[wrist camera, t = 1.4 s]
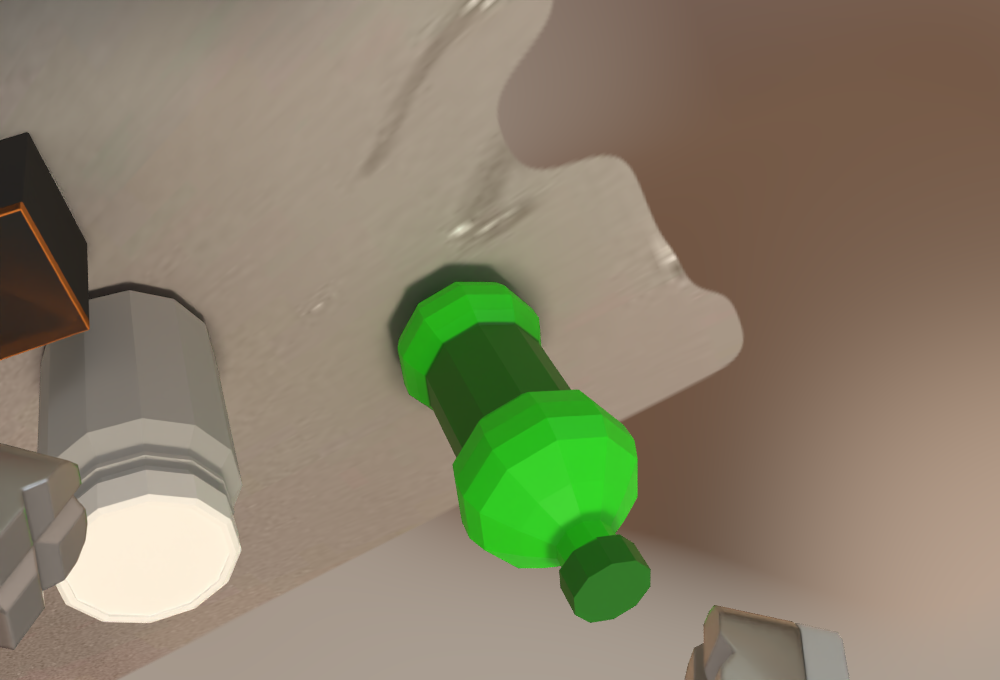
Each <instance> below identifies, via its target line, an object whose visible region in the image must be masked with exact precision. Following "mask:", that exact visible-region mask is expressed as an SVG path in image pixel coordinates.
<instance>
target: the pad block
mask: <svg viewBox="0 0 1000 680" xmlns="http://www.w3.org/2000/svg"><path fill="white" fill-rule="evenodd" d="M89 329H90V323H89V293H88V263H87V243H86V241H85V239H84V237H83V235H82V233H81V232H80V230H79V228H78V226H77V224H76V222H75V220H74V218H73V216H72V215H71V213H70V211H69V209H68V207H67V205H66V203H65V201H64V199H63V198H62V196H61V194H60V192H59V190H58V188H57V186H56V184H55V183H54V181H53V179H52V177H51V175H50V173H49V171H48V169H47V167H46V166H45V164H44V162H43V160H42V158H41V156H40V154H39V152H38V150H37V149H36V147H35V145H34V143H33V141H32V139H31V137H30V135H29V134H28V133H25V134H21V135H18V136H15V137H11V138H8V139H5V140H2V141H0V360H2V359H5V358H8V357H11V356H14V355H17V354H20V353H23V352H26V351H29V350H32V349H35V348H38V347H40V346H43V345H46V344H49V343H52V342H55V341H58V340H61V339H64V338H67V337H70V336H73V335H76V334H78V333H81V332H84V331H87V330H89Z"/></svg>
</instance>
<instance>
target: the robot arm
mask: <svg viewBox="0 0 1000 680" xmlns="http://www.w3.org/2000/svg"><path fill="white" fill-rule="evenodd" d="M81 484H82V482H81V477H80V472H79V467H78V464H76V463H73V462H71V461H69V460H65V459H61V458H57V457H53V456H49V455H45V454H41V453H37V452H33V451H29V450H25V449H21V448H17V447H13V446H9V445H5V444H1V443H0V647H2V648H7V649H12V650H14V649H15V648H16V646H17V645H18V644H19V642H20V641H21V640H22V638H23V637H24V635H25V634H26V633H27V631H28V630H29V629H30V627H31V626H32V624H33V623H34V622H35V620H36V619H37V618H38V616H39V615H40V614H41V612H42V611H43V609H44V608H45V605H44V596H43V591H44V590H46V589H48V588H50V587H52V586H54V585H56V584H58V583H60V582H62V581H64V580H65V579H66V577H67V576H68V575H69V573H70V572H71V570H72V569H73V567H74V566H75V564H76V563H77V561H78V558H79V556H80V553H81V551H82V548H83V546H84V543H85V541H86V533H87V524H88V522H87V515H86V509H85V508H84V507H83V505H82V504H81V503H80V502H79V501H78V500H77V498H76V497H75V496H74V495H73V494H74V493H75V492H76V491H77V489H78V488H79V487H80V485H81ZM685 680H850V679H849V673H848V668H847V662H846V657H845V651H844V645H843V640H842V638H841V637H840V635H839V633H838V632H835V631H830V630H826V629H822V628H817V627H813V626H808V625H804V624H799V623H795V624H794V623H793V622H792V621H787V620H782V619H777V618H773V617H767V616H763V615H759V614H753V613H749V612H745V611H739V610H735V609H731V608H726V607H721V606H717V605H714V606H713V607H712V609H711V610H710V611H709V613H708V615H707V618H706V620H705V623H704V643H703V644H701V645H699V646H697V647H695V648H694V650H693V652H692V655H691V658H690V661H689V663H688V667H687V671H686V676H685Z"/></svg>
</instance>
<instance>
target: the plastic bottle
mask: <svg viewBox="0 0 1000 680" xmlns="http://www.w3.org/2000/svg"><path fill="white" fill-rule="evenodd" d="M398 353H399V359H400V364H401V369H402V374H403V379H404V384H405V386H406V389H407V391H408V393H409V395H411V396H412V397H414V398H415V399H417V400H418V401H420V402H421V403H423V404H424V405H426V406H427V407H429V408H431V409H432V410H433V411H434V413H435V415H436V417H437V419H438V421H439V423H440V425H441V427H442V429H443V431H444V433H445V435H446V437H447V439H448V441H449V443H450V445H451V447H452V449H453V452H454V454H455V456H456V460H455V461H454V463H453V470H454V477H455V483H456V489H457V495H458V501H459V507H460V513H461V518H462V523H463V525H464V527H465V529H466V531H467V533H468V536H469V538H470V539H471V540H473V541H474V542H475V543H476V544H478V545H479V546H480V547H481V548H483V549H484V550H485V551H487V552H489V553H491V554H493V555H495V556H497V557H498V558H501V559H502V560H504V561H506V562H508V563H510V564H511V565H513V566H515V567H517V568H548V567H557V566H561V569H560V570H559V574H560V586H561V589H562V591H563V593H564V595H565V597H566V599H567V601H568V602H569V604H570V606H571V608H572V610H573V612H574V614H575V615H576V616H578V617H580V618H582V619H584V620H586V621H588V622H590V623H592V622H598V621H604V620H610V619H614V618H616V617H618V616H619V615H621V614H623V613H624V612H626V611H628V610H629V609H631V608H633V607H634V606H636V605H637V603H638V602H639V601H640V599H641V598H642V597H643V596H644V594H645V593H646V592H647V590H648V589H649V587H650V568H649V566H648V565H647V563H646V562H645V560H644V559H643V557H642V556H641V554H640V552H639V551H638V549H637V548H636V546H635V545H634V543H632V542H631V541H629V540H628V539H626V538H624V537H623V536H621V535H615V533H616V532H617V530H618V529H619V527H620V526H621V524H622V523H623V522H624V520H625V518H626V517H627V515H628V513H629V511H630V509H631V507H632V506H633V504H634V502H635V500H636V498H637V462H638V459H637V453H636V447H635V442H634V439H633V437H632V436H631V435H630V433H629V432H628V431H627V429H626V428H625V426H624V425H623V424H621V423H620V422H619V421H618V420H617V419H615V418H614V417H613V416H612V415H610V414H609V413H608V412H606V411H605V410H604V409H603V408H601V407H600V406H599V405H598V404H596V403H595V402H594V401H592V400H591V399H590V398H589V397H587V396H586V395H585V394H584V393H582V392H581V391H580V390H571V389H570V388H569V386H568V385H567V383H566V382H565V380H564V379H563V377H562V376H561V375H560V373H559V372H558V370H557V369H556V367H555V366H554V364H553V363H552V362H551V360H550V359H549V357H548V356H547V354H546V353H545V351H544V350H543V349H542V347H541V337H540V325H539V317H538V316H537V315H536V313H535V312H534V310H533V309H532V308H531V307H530V306H528V305H527V304H526V303H525V302H524V301H522V300H521V299H520V298H519V297H518V296H516V295H515V294H514V293H513V292H512V291H510V290H509V289H508V288H507V287H506V286H504V285H502V284H499V283H496V282H454V283H452V284H451V285H449V286H447V287H446V288H444V289H442V290H441V291H439V292H437V293H435V294H434V295H432V296H430V297H429V298H427V299H425V300H424V301H422V302H420V303H418V305H417V307H416V309H415V310H414V312H413V314H412V316H411V318H410V320H409V321H408V323H407V325H406V327H405V329H404V330H403V332H402V334H401V336H400V338H399V342H398Z"/></svg>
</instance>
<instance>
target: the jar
mask: <svg viewBox="0 0 1000 680" xmlns="http://www.w3.org/2000/svg"><path fill="white" fill-rule="evenodd" d="M89 323H90V329H89V330H87V331H84V332H81V333H78V334H76V335H73V336H70V337H67V338H64V339H61V340H58V341H55V342H52V343H49V344H46V347H45V351H44V354H43V358H42V362H41V370H40V397H39V423H38V450H37V453H41V454H45V455H49V456H53V457H57V458H61V459H65V460H69V461H71V462H73V463H76V464H78V467H79V472H80V477H81V482H82V484H81V485H80V487H79V488H78V489H77V491H76V492H75V493H74V494H73V495H74V496H75V497H76V498H77V500H78V501H79V502H80V503H81V504H82V505H83V507H84V508H85V509H86V515H87V522H88V524H87V533H86V541H85V543H84V546H83V548H82V551H81V553H80V556H79V558H78V561H77V563H76V564H75V566H74V567H73V569H72V570H71V572H70V573H69V575H68V576H67V577H66V579H65V580H64V581H62V582H60V583H58V584H56V587H57V588H58V590H59V592H60V594H61V596H62V598H63V600H64V602H65V603H66V605H68V606H70V607H72V608H75V609H77V610H79V611H81V612H83V613H85V614H87V615H89V616H92V617H94V618H96V619H98V620H100V621H102V622H130V623H151V622H154V621H158V620H161V619H164V618H167V617H170V616H173V615H176V614H179V613H183V612H186V611H189V610H192V609H195V608H196V607H197V606H199V605H200V604H201V603H203V602H204V601H205V600H206V599H208V598H209V597H210V596H211V595H213V594H214V593H215V592H216V591H218V590H219V589H220V588H221V587H223V586H224V585H225V584H226V583H228V581H229V579H230V576H231V574H232V572H233V569H234V567H235V564H236V562H237V560H238V557H239V555H240V552H241V546H240V541H239V536H238V531H237V526H236V523H235V520H234V517H233V514H234V508H233V507H234V505H235V502H236V500H237V497H238V495H239V493H240V490H241V488H242V481H241V476H240V471H239V467H238V462H237V457H236V453H235V448H234V443H233V439H232V434H231V429H230V424H229V420H228V415H227V410H226V406H225V401H224V396H223V392H222V387H221V382H220V377H219V373H218V368H217V363H216V359H215V355H214V352H213V348H212V345H211V342H210V339H209V335H208V332H207V329H206V325H205V323H204V322H202V321H201V320H200V319H198V318H197V317H196V316H195V315H193V314H192V313H191V312H190V311H188V310H187V309H186V308H185V307H183V306H182V305H181V304H180V303H178V302H177V301H176V300H175V299H171V298H166V297H161V296H156V295H151V294H146V293H141V292H136V291H131V290H128V291H124V292H120V293H115V294H111V295H107V296H103V297H98V298H94V299H90V300H89Z"/></svg>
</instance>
